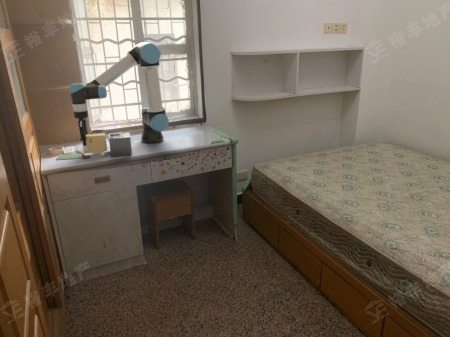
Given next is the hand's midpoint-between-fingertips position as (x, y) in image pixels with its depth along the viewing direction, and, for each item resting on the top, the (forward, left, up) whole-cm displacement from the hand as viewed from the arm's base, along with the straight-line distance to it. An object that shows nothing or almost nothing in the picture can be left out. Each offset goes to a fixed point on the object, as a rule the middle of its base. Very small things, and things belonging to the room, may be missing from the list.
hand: (86, 148), depth 214 cm
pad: (+10, 0, -4) cm, 11 cm away
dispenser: (-20, 0, -4) cm, 21 cm away
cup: (-5, -20, -5) cm, 21 cm away
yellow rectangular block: (-5, 0, -2) cm, 5 cm away
